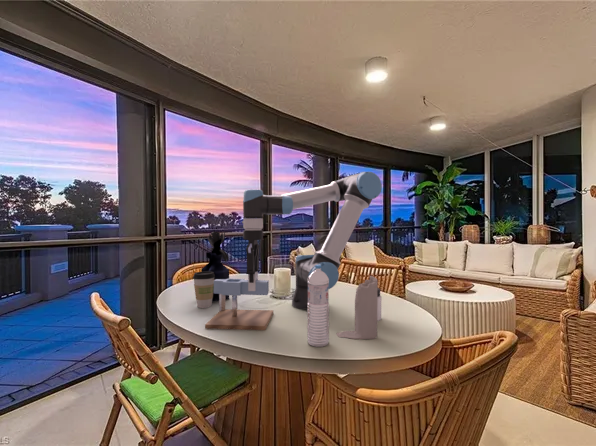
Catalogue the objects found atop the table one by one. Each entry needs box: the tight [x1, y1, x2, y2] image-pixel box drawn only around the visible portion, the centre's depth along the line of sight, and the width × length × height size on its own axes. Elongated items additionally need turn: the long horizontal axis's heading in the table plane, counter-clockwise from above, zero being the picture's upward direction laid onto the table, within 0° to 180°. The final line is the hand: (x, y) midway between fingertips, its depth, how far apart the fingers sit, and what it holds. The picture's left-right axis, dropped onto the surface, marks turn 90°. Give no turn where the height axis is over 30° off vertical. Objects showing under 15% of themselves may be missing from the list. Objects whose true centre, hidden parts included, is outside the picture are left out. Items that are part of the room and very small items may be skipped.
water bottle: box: [306, 265, 330, 348], centre depth 102 cm, size 7×7×25 cm
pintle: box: [231, 295, 238, 317], centre depth 126 cm, size 2×2×10 cm
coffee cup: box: [192, 271, 215, 309], centre depth 145 cm, size 10×10×15 cm
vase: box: [201, 227, 230, 303], centre depth 158 cm, size 14×12×35 cm
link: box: [214, 278, 270, 297], centre depth 126 cm, size 21×7×5 cm, turn 86°
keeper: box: [218, 294, 226, 312], centre depth 132 cm, size 6×2×12 cm, turn 41°
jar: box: [377, 287, 382, 322], centre depth 127 cm, size 9×8×12 cm
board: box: [204, 308, 274, 331], centre depth 125 cm, size 22×19×2 cm
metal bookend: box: [336, 275, 378, 340], centre depth 109 cm, size 7×14×20 cm, turn 88°
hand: (253, 289), depth 125 cm, fingers closed on link, 4 cm apart
